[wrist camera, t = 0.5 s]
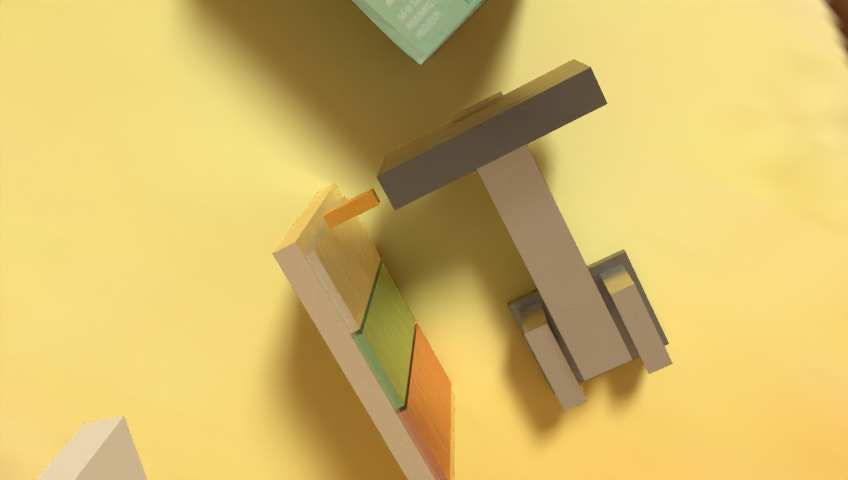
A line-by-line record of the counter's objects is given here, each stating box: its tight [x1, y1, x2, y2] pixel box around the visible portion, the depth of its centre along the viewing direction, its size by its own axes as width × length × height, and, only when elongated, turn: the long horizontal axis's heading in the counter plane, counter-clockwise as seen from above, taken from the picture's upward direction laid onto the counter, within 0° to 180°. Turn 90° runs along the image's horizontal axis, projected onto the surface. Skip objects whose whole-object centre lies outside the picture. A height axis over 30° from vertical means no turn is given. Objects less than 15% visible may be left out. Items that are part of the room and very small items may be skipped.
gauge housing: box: [272, 184, 673, 480], centre depth 35 cm, size 15×12×10 cm
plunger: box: [323, 59, 632, 381], centre depth 35 cm, size 14×12×6 cm
